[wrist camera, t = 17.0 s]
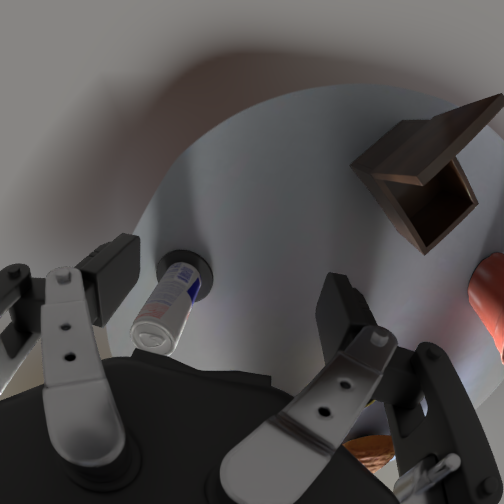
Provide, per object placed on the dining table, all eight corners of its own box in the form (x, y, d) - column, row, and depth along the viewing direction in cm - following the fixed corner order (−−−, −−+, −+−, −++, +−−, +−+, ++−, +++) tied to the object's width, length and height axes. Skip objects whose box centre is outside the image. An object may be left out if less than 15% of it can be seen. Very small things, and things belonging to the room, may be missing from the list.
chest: (445, 188, 36) (479, 204, 28) (398, 231, 39) (424, 256, 31) (402, 119, 33) (434, 119, 25) (349, 165, 36) (370, 175, 28)
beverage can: (160, 276, 44) (120, 336, 30) (182, 253, 42) (144, 311, 28) (186, 299, 45) (157, 365, 31) (209, 278, 44) (185, 344, 30)
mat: (146, 274, 44) (145, 275, 44) (181, 237, 42) (180, 239, 41) (188, 310, 47) (187, 312, 46) (225, 279, 44) (224, 280, 43)
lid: (508, 102, 12) (502, 92, 12) (423, 186, 15) (415, 176, 15) (438, 122, 25) (433, 116, 24) (374, 178, 28) (369, 172, 28)
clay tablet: (345, 426, 59) (349, 452, 51) (402, 422, 59) (410, 445, 51) (318, 462, 68) (320, 484, 60) (368, 459, 68) (372, 479, 60)
